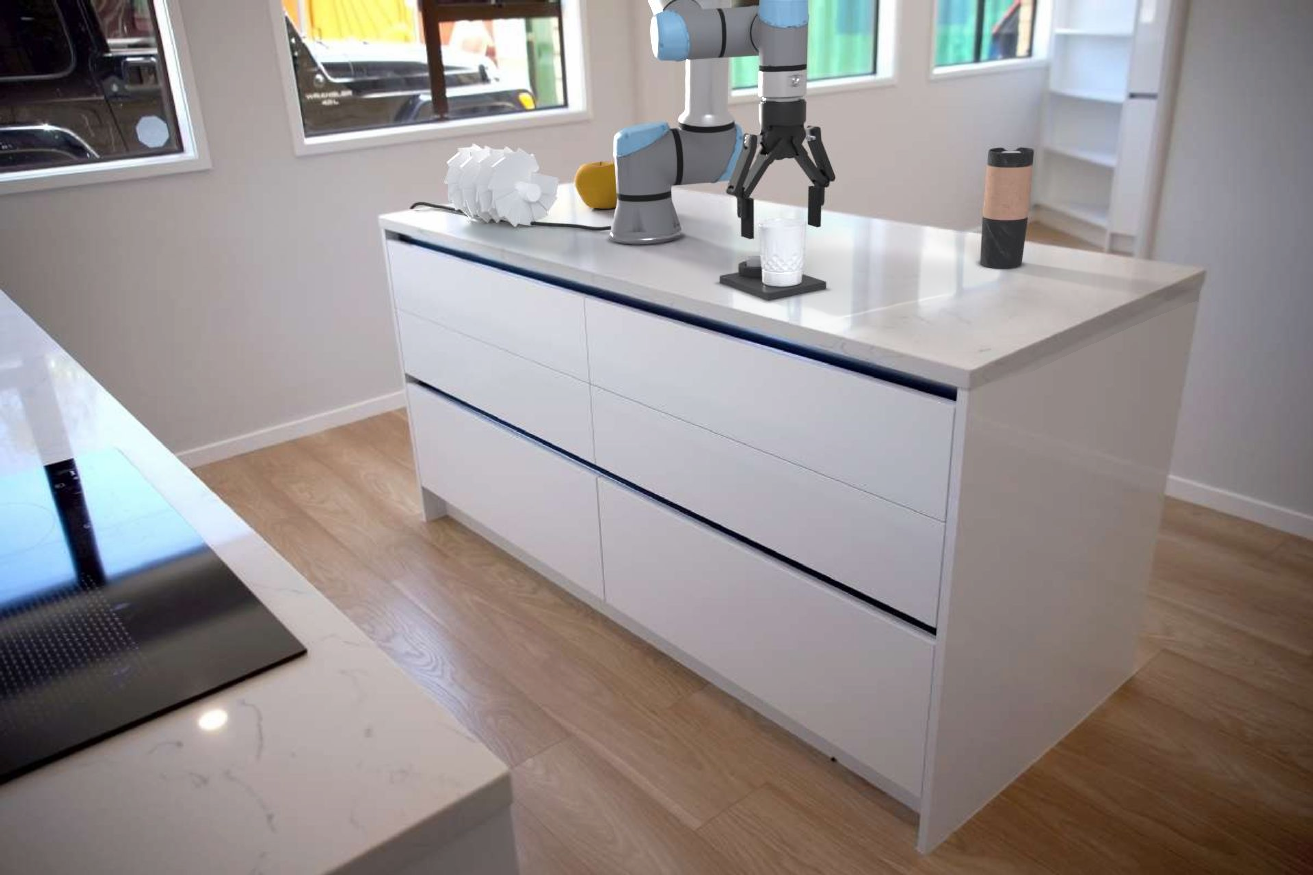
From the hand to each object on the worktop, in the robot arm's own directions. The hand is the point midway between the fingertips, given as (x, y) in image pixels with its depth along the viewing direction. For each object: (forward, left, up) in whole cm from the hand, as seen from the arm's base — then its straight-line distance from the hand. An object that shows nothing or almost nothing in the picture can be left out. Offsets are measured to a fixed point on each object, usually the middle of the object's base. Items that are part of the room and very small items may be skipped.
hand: (781, 231), depth 167 cm
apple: (-91, +10, -10) cm, 92 cm away
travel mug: (+10, +41, -10) cm, 43 cm away
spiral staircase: (-91, -16, -10) cm, 93 cm away
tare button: (-8, 0, -7) cm, 10 cm away
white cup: (0, 0, -9) cm, 9 cm away
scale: (-3, 0, -10) cm, 10 cm away
